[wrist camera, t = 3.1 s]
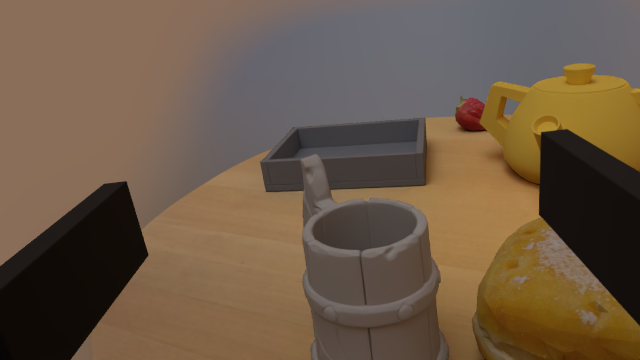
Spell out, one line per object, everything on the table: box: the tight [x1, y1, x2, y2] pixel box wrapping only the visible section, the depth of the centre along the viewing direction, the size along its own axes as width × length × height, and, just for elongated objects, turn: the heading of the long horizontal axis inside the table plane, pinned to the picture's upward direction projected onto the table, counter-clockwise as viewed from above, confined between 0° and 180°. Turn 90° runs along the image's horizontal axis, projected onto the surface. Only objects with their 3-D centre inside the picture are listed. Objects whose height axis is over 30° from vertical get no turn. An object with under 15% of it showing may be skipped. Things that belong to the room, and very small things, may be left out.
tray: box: [260, 118, 427, 192], centre depth 61 cm, size 19×15×4 cm
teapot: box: [480, 64, 640, 185], centre depth 49 cm, size 20×18×11 cm
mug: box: [300, 154, 449, 360], centre depth 28 cm, size 8×12×12 cm, turn 26°
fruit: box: [455, 96, 486, 131], centre depth 69 cm, size 4×6×5 cm
